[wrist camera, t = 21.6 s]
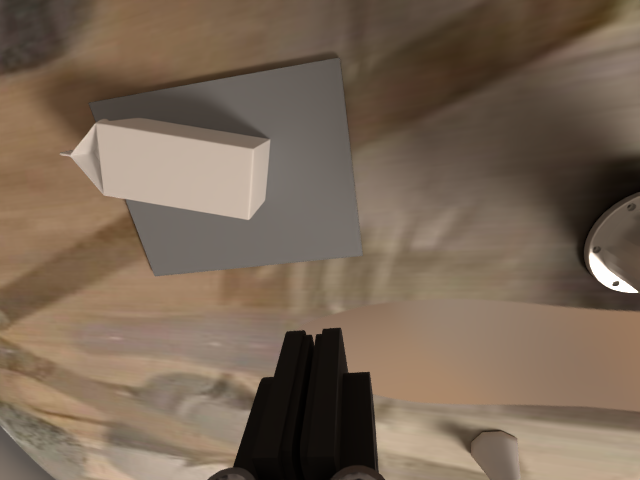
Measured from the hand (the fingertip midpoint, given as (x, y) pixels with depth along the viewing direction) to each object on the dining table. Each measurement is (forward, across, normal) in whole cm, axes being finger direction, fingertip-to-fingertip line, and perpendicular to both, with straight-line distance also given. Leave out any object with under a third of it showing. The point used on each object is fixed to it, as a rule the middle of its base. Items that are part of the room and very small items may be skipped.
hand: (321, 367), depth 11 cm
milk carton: (+27, +8, -1) cm, 28 cm away
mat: (+31, +13, 0) cm, 34 cm away
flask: (+31, -18, +47) cm, 59 cm away
